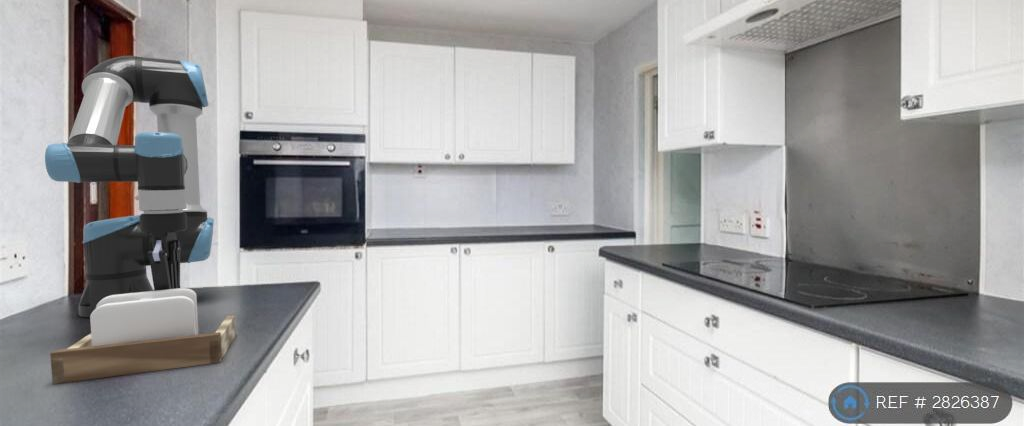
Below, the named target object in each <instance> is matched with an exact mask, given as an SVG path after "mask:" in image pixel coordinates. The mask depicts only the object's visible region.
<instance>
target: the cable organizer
mask: <svg viewBox="0 0 1024 426" xmlns="http://www.w3.org/2000/svg"><path fill="white" fill-rule="evenodd" d="M197 297H198V296H197V293H196V291H194V290H193V289H191V288H187V287H186V288H185V287H180V288H177V289H167V290H157V291H147V292H137V293H127V294H117V295H110V296H107V297H105V298H103V299H102V300H101V301H100V302H99V303H98V304H97V306H96V309H95V310H94V311H93V312H92V313H91V316H90V317H89V320H90V333H91V337H92V346H99V345H108V344H117V343H126V342H135V341H144V340H154V339H163V338H172V337H181V336H190V335H199V321H198V320H199V318H198V316H199V315H198V300H197V299H198V298H197Z"/></svg>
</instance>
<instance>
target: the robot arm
mask: <svg viewBox="0 0 1024 426" xmlns="http://www.w3.org/2000/svg"><path fill="white" fill-rule="evenodd" d="M81 91H82V95H83V97H82V99H81V100H82V101H81V104H80V107H79V109H78V112H77V115H76V118H75V120H74V123H73V125H72V129H71V132H70V135H69V138H68V140H67V142H61V143H51V144H49V145H47V147H46V148H45V151H44V162H45V163H44V164H45V168H46V169H45V170H46V172H47V175H48V176H49V178H50V179H51V180H53V181H55V182H61V183H64V182H66V183H67V182H68V183H70V182H71V183H77V184H80V183H107V182H108V183H112V182H113V183H115V182H116V183H117V182H120V183H124V182H126V183H130V182H134V183H137V191H138V192H137V193H138V194H137V195H135V197H134V199H135V200H136V201H138V210H139V211H141V212H142V213H140V214H137V215H127V216H119V217H114V218H107V219H101V220H96V221H90V222H88V223H86V224H85V226H84V227H83V237H82V238H83V239H82V244H83V253H84V266H85V267H84V268H85V279H86V280H85V281H86V282H85V285H84V289H83V292H82V294H81V297H80V301H79V303H78V309H77V310H78V316H79V317H81V318H90V316H91V313H92V312H93V311H94V310H95V309H96V306H97V304H98V303H99V302H100V301H101V300H102V299H103V298H105V297H107V296H110V295H117V294H127V293H137V292H147V291H157V290H167V289H177V288H181V264H190V263H195V262H196V263H197V262H203V261H206V260H208V258H210V256H211V251H212V244H213V243H212V242H213V233H214V221H215V220H214V218H213V217H211V216H209V217H208V211H207V209H205V208H204V207H203V206H202V205H201V195H200V194H201V193H200V175H199V173H200V171H199V170H200V169H199V152H198V133H197V132H198V131H197V118H199V117H200V116H201V115H202V114H203V108H207V107H208V106H209V101H208V95H207V91H206V85H205V81H204V75H203V70H202V69H201V67H200V65H199V64H197V63H195V62H190V61H182V60H181V59H178V60H176V59H175V60H174V59H165V58H156V57H155V58H154V57H145V56H144V57H143V56H136V55H121V56H117V57H113V58H109V59H107V60H104V61H102V62H100V63H98V64H97V65H95V66H94V67H93V68H91V69H90V70H89V71H88V72H87V73H86V74H85V76H84V78H83V80H82V83H81ZM131 103H143V104H149V105H148V106H149V110H150V111H151V112H152V113H153V114H154V115H155V116H156V124H157V126H156V127H157V128H156V129H157V132H156V131H150V132H149V131H143V132H138V133H136V134H135V136H134V145H123V144H118V141H119V137H120V134H121V133H120V132H121V127H122V122H123V120H124V115H125V111H126V107H127V106H129V105H130V104H131ZM148 266H150V271H151V279H152V283H153V285H152V284H151V282H150V280H149V279H148V275H147V267H148ZM152 286H153V287H152Z"/></svg>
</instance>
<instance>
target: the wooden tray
mask: <svg viewBox="0 0 1024 426" xmlns="http://www.w3.org/2000/svg"><path fill="white" fill-rule="evenodd" d="M236 333H237V332H236V316H235V315H230V316H229V315H227V316H226V317H225V318H224V320H223V321H222V322H221V324H220V325H219V326H218V328H217V329H216V331H215V332H210V333H200V334H199V333H198V335H190V336H181V337H172V338H163V339H154V340H144V341H135V342H126V343H117V344H108V345H99V346H92V337H91V332H90V333H89V334H87V335H86V336H84V337H83V338H81V339H80V340H78V341H76V342H75V343H74V344H72V345H70V346H69V347H67V348H64V349H55V350H54V351H51V352H50V369H51V380H52V381H51V382H52V385H55V384H56V385H57V384H64V383H71V382H79V381H86V380H87V381H88V380H94V379H96V380H97V379H101V378H110V377H119V376H125V375H133V374H140V373H148V372H156V371H164V370H172V369H180V368H186V367H187V368H188V367H195V366H203V365H211V364H218V363H219V364H220V363H221V362H222V360H223V358H224V357H225V355H226V353H227V351H228V349H229V347H230V346H231V344H232V342H233V340H234V339H235V337H236V335H237V334H236Z"/></svg>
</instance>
